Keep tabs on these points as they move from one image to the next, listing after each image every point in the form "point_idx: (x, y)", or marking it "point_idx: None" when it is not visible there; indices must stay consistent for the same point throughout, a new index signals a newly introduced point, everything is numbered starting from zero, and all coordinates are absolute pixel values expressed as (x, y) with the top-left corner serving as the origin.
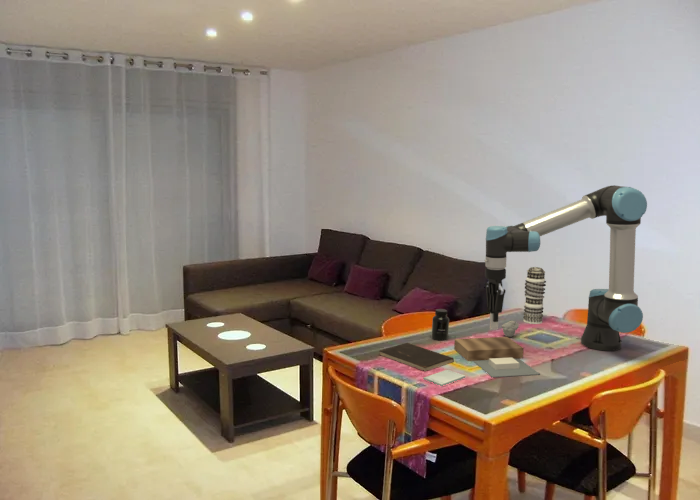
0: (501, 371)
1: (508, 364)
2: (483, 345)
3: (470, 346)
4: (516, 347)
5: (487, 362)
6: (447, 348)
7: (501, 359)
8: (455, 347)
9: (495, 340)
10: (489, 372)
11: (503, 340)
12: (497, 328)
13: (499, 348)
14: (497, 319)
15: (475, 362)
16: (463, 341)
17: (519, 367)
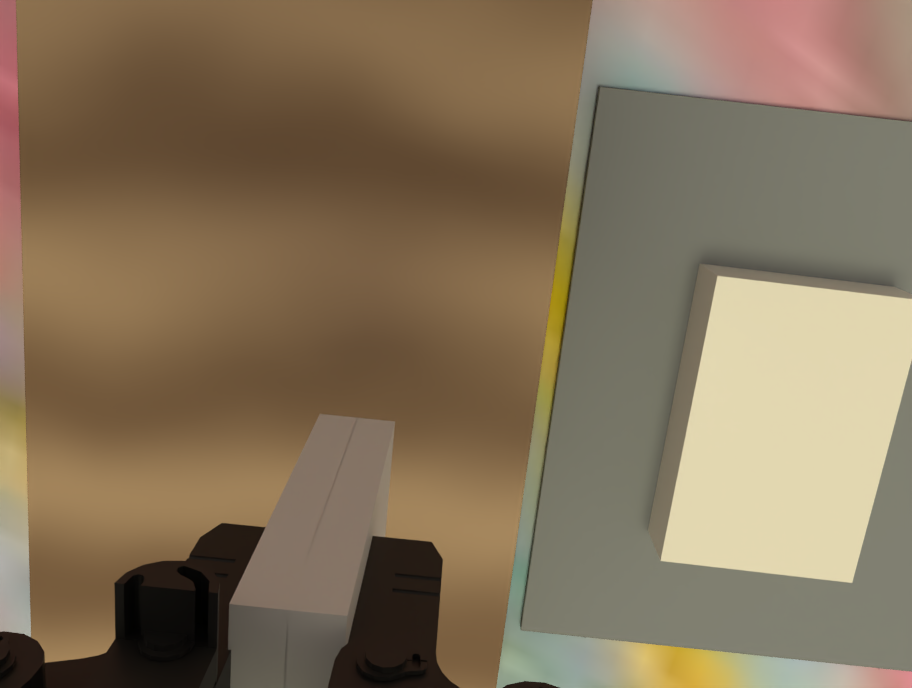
0: (896, 520)
1: (885, 433)
2: None
3: None
4: (541, 89)
5: (606, 521)
6: None
7: (738, 442)
8: None
9: (168, 221)
10: (870, 642)
11: (191, 100)
12: (391, 440)
13: (514, 356)
14: (440, 588)
15: (565, 634)
16: None
17: (869, 264)
